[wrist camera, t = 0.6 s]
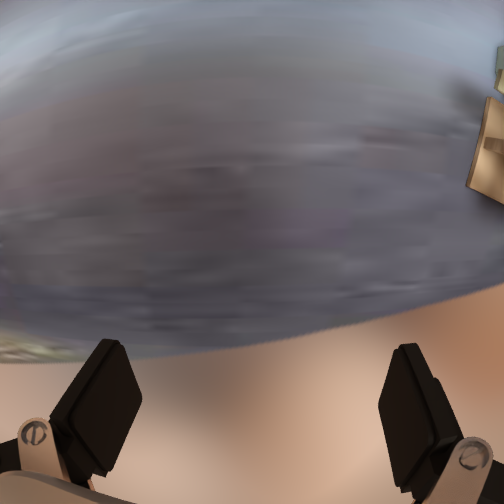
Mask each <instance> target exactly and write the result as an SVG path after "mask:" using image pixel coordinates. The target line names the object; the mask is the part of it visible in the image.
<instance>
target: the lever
mask: <svg viewBox="0 0 504 504" xmlns="http://www.w3.org/2000/svg"><path fill="white" fill-rule="evenodd" d="M494 89H496V90H497V91H499V92H500V93H502V94H503V95H504V70H503V69H499V70H498V74H497V78H496V81H495V85H494Z"/></svg>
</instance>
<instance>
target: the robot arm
mask: <svg viewBox="0 0 504 504" xmlns="http://www.w3.org/2000/svg"><path fill="white" fill-rule="evenodd" d="M141 402H142V394H141V391H140V389H139V386H138V383H137V381H136V378H135V376H134V373H133V370H132V368H131V365H130V362H129V359H128V357H127V354H126V351H125V348H124V346H123V345H121V344H120V342H119V341H118V340H112V339H102V340H101V341H100V343H99V344H98V346H97V347H96V348H95V350H94V351H93V353H92V354H91V355H90V357H89V358H88V360H87V361H86V362H85V364H84V365H83V367H82V368H81V370H80V371H79V373H78V374H77V375H76V377H75V378H74V380H73V382H72V383H71V384H70V386H69V387H68V389H67V390H66V392H65V393H64V395H63V396H62V398H61V399H60V401H59V402H58V404H57V405H56V407H55V409H54V410H53V411H52V413H51V415H50V420H49V421H47V420H45V419H43V418H32V419H29V420H27V421H26V422H24V423H23V424H22V426H21V427H20V428H19V431H18V438H16V439H13V440H10V441H7V442H4V443H1V444H0V504H135V503H131V502H128V501H124V500H121V499H118V498H114V497H111V496H108V495H105V494H101V493H98V492H96V491H95V489H94V486H93V484H92V481H91V476H92V474H96V475H99V476H103V477H106V475H107V473H108V471H111V470H112V469H113V467H114V465H115V463H116V460H117V458H118V455H119V453H120V451H121V448H122V446H123V444H124V442H125V439H126V437H127V434H128V432H129V430H130V428H131V426H132V423H133V421H134V419H135V417H136V414H137V412H138V410H139V408H140V405H141ZM378 409H379V414H380V418H381V422H382V426H383V430H384V435H385V439H386V443H387V448H388V453H389V457H390V462H391V467H392V472H393V477H394V482H395V485H396V487H400V489H401V493H406V492H412V497H413V498H414V500H413V502H412V504H504V464H502V463H499V462H498V461H495V460H493V451H492V449H491V447H490V445H489V444H488V443H487V442H486V441H485V440H483V439H481V438H478V437H467V438H465V439H464V437H463V434H462V432H461V429H460V427H459V425H458V422H457V420H456V417H455V415H454V412H453V410H452V408H451V405H450V403H449V401H448V399H447V396H446V394H445V392H444V390H443V388H442V385H441V383H440V382H439V380H438V379H437V378H433V375H432V373H431V371H430V369H429V367H428V365H427V363H426V361H425V358H424V357H423V354H422V353H421V350H420V348H419V346H418V345H417V344H416V343H410V344H401V345H400V346H399V348H398V349H395V350H394V352H393V355H392V359H391V362H390V366H389V370H388V373H387V376H386V380H385V383H384V386H383V389H382V393H381V395H380V398H379V403H378Z"/></svg>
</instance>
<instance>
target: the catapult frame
mask: <svg viewBox="0 0 504 504" xmlns="http://www.w3.org/2000/svg"><path fill="white" fill-rule="evenodd" d="M466 186H468V187H470V188H472V189H474V190H476V191H478V192H480V193H482V194H484V195H486V196H488V197H490V198H492V199H494V200H496V201H498V202H500V203H502V204H504V105H503V104H501V103H500V102H499V101H497V100H495V99H494V98H492V97H487V101H486V106H485V111H484V116H483V121H482V126H481V131H480V135H479V139H478V143H477V147H476V151H475V155H474V159H473V163H472V166H471V170H470V173H469V177H468V180H467V183H466Z"/></svg>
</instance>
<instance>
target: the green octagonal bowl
mask: <svg viewBox="0 0 504 504" xmlns="http://www.w3.org/2000/svg"><path fill="white" fill-rule="evenodd" d="M499 69H503V70H504V45H503V46H500V47H498V52H497V62H496V71H495V72H496V75H497V74H498V70H499Z"/></svg>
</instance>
